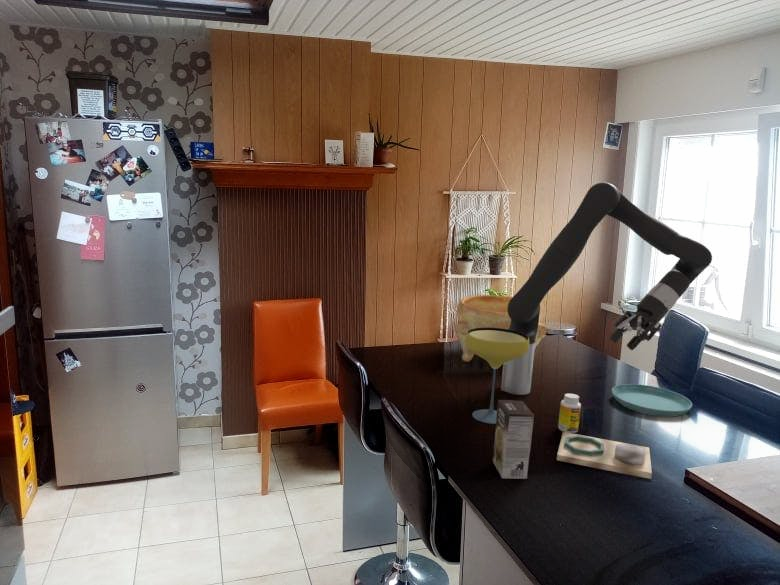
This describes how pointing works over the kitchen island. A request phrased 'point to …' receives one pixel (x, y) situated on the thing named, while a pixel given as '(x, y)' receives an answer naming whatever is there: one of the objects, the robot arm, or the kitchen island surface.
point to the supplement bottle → (569, 413)
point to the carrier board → (605, 455)
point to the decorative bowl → (485, 318)
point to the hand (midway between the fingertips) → (620, 344)
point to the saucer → (651, 400)
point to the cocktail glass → (495, 356)
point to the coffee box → (512, 439)
